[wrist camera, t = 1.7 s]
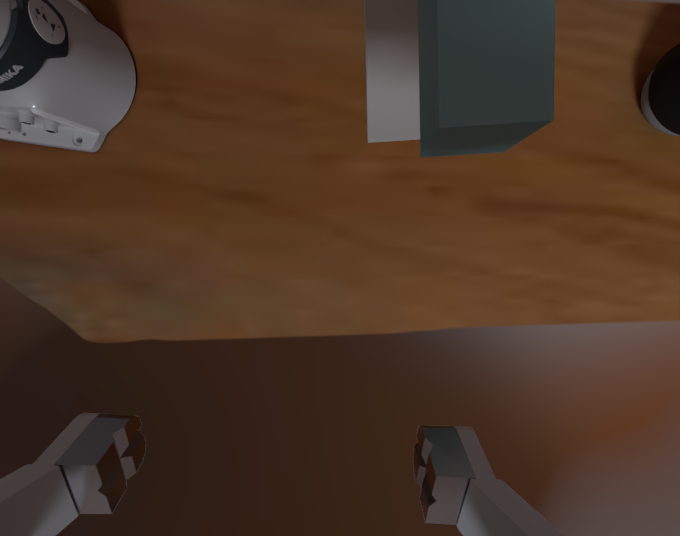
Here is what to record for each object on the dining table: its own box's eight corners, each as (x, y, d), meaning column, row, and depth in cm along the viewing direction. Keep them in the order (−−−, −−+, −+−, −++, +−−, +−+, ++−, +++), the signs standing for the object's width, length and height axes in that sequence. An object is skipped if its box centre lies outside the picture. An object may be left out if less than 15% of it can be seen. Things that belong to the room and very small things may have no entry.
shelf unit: (367, 142, 42) (364, -24, 15) (364, 33, 41) (354, -352, 14) (441, 137, 41) (573, -47, 14) (439, 26, 40) (579, -397, 13)
